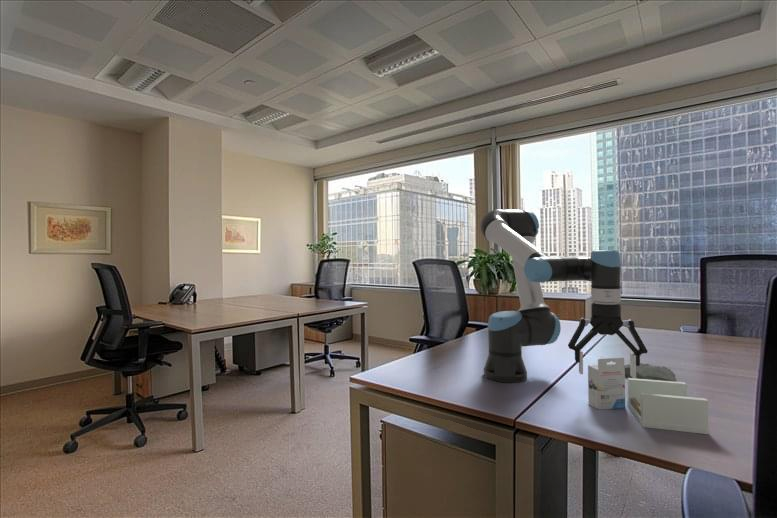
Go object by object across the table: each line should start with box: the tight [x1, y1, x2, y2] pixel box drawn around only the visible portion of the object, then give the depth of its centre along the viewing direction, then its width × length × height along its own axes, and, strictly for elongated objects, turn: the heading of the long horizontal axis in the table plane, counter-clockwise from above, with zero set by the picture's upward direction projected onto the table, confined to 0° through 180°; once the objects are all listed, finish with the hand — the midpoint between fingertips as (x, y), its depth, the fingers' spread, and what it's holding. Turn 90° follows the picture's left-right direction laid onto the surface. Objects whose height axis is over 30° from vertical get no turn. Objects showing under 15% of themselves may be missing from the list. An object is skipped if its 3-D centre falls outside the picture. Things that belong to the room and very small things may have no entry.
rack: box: [626, 377, 710, 435], centre depth 104 cm, size 14×15×8 cm
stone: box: [624, 362, 677, 382], centre depth 138 cm, size 18×5×15 cm
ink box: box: [587, 357, 626, 410], centre depth 113 cm, size 8×5×15 cm, turn 96°
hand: (606, 375), depth 112 cm, fingers open, 13 cm apart
